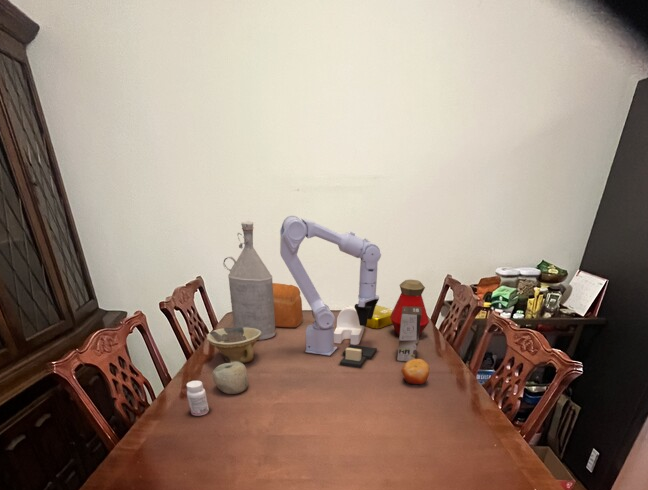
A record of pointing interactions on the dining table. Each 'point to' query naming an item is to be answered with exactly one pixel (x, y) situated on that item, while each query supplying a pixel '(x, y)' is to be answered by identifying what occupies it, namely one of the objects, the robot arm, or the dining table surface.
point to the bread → (287, 305)
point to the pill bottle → (197, 398)
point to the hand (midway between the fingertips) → (365, 322)
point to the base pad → (363, 351)
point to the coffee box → (409, 333)
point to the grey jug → (251, 288)
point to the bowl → (235, 342)
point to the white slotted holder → (348, 326)
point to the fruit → (415, 371)
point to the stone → (231, 377)
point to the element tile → (380, 318)
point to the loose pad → (353, 363)
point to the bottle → (409, 303)
